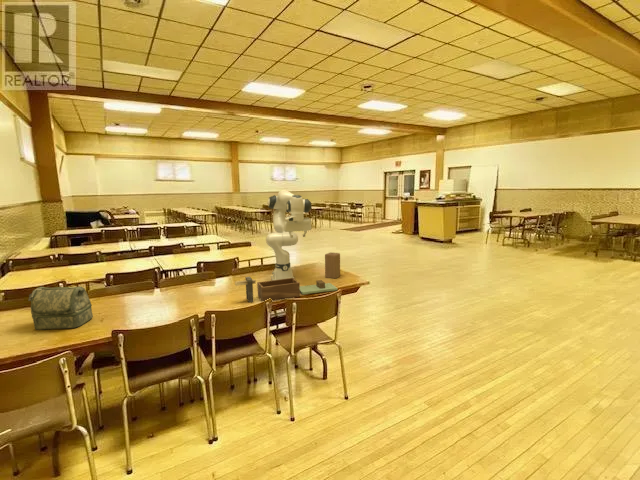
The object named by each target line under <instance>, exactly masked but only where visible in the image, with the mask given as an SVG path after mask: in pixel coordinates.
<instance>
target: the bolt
mask: <svg viewBox="0 0 640 480" xmlns="http://www.w3.org/2000/svg"><path fill="white" fill-rule="evenodd" d="M252 282H253V285H254V284H256V283H257V282H256V279H255V278H254V279H253V278H252ZM246 284H247V280H246V279H245V280H238V281H237V280H236V281H234V285H235V286H236V287H237V286H238V287H239V286H244V285H245V286H246Z"/></svg>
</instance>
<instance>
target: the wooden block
mask: <svg viewBox="0 0 640 480" xmlns="http://www.w3.org/2000/svg"><path fill="white" fill-rule="evenodd" d="M324 277H325V278H326V279H327V278H328V279H334V280H335V279H337V278H339V277H341V253H340V252H328V253H325V254H324Z"/></svg>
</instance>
